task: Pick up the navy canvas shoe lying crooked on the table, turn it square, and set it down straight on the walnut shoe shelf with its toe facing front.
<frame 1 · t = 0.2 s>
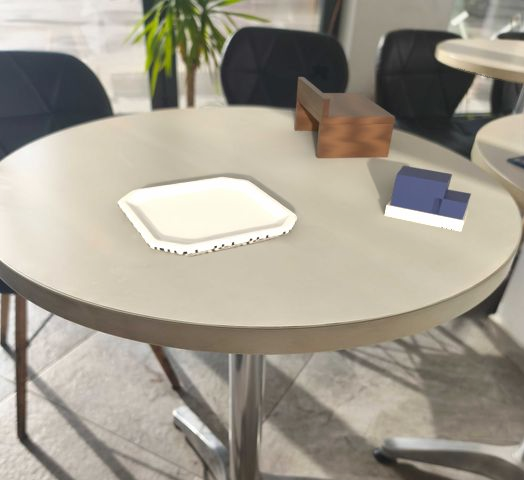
plate: (206, 224, 69), on the table
shoe shelf: (338, 142, 102), on the table
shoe: (424, 217, 73), on the table
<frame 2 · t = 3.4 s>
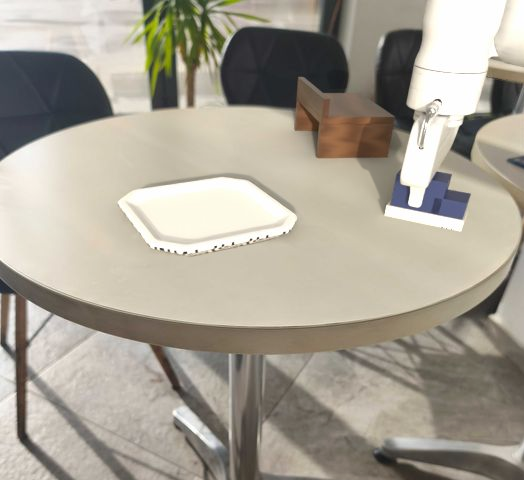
hand: (418, 198, 72), 3 cm above the table, tool pointing down, fingers closed on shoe, 4 cm apart
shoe: (424, 217, 73), on the table, touching gripper
everything else where it was.
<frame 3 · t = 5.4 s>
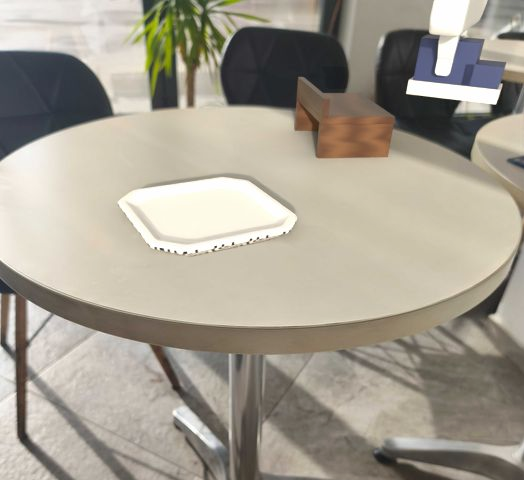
hand: (446, 71, 63), 19 cm above the table, tool pointing down, fingers closed on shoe, 4 cm apart
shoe: (452, 95, 64), point 16 cm above the table, touching gripper
everything else where it was.
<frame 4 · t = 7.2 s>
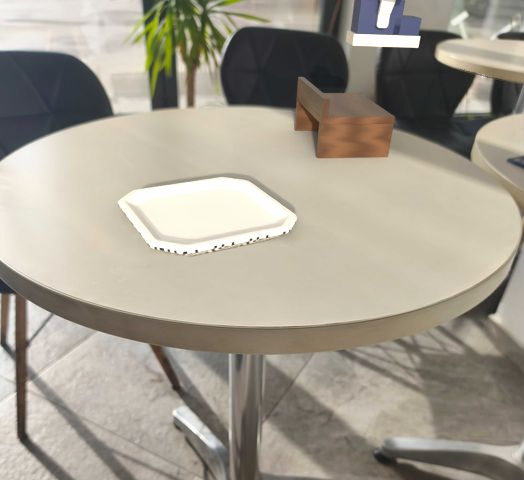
hand: (375, 25, 80), 21 cm above the table, tool pointing down, fingers closed on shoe, 4 cm apart
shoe: (381, 44, 82), point 19 cm above the table, touching gripper
everything else where it was.
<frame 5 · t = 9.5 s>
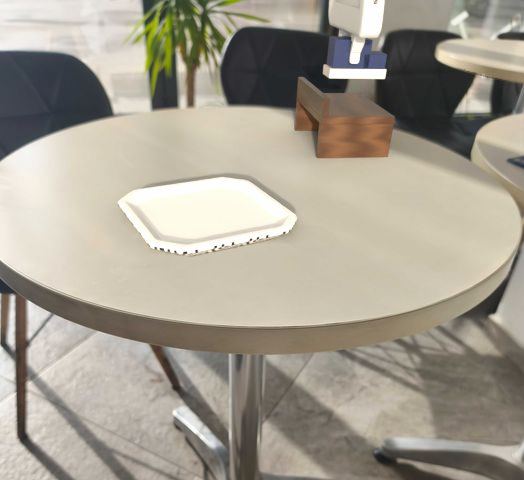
hand: (348, 60, 93), 15 cm above the table, tool pointing down, fingers closed on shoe, 4 cm apart
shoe: (353, 76, 94), point 12 cm above the table, touching gripper
everything else where it was.
when the fingers open (10 cm above the table, at t = 11.1 s): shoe stays where it is, resting on shoe shelf.
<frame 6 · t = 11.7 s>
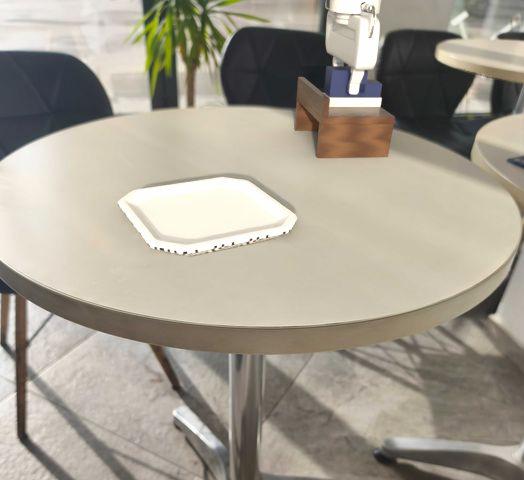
hand: (344, 88, 95), 10 cm above the table, tool pointing down, fingers open, 8 cm apart
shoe: (349, 104, 97), point 7 cm above the table, touching shoe shelf
everything else where it was.
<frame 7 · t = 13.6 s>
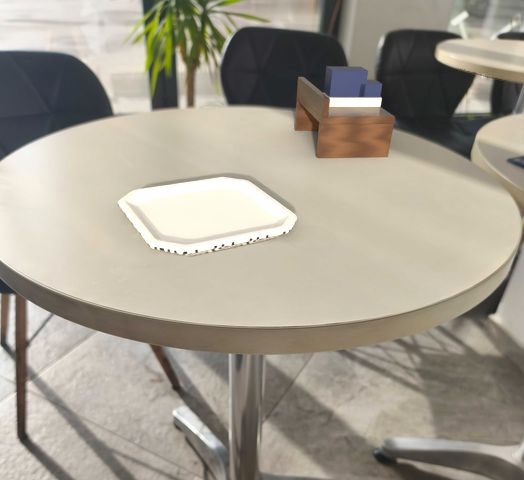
nothing on the table moved.
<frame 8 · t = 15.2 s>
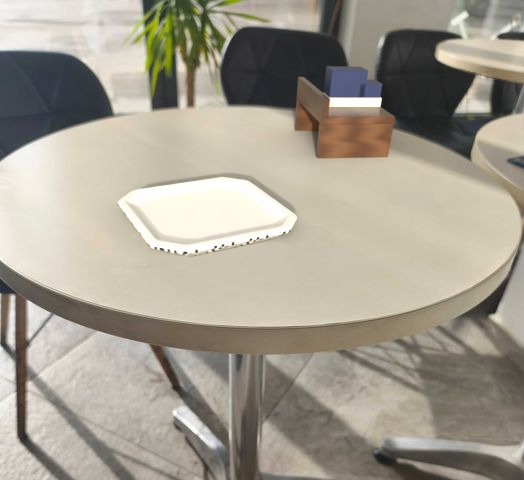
nothing on the table moved.
at the end: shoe 0.1 cm from the target spot on the shoe shelf, point 7.2 cm above the shoe shelf's base; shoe tilted 0°; the gripper is holding nothing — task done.
